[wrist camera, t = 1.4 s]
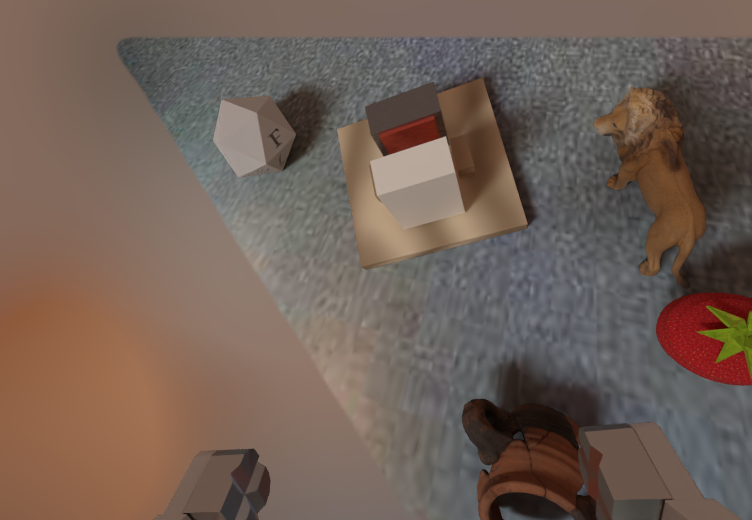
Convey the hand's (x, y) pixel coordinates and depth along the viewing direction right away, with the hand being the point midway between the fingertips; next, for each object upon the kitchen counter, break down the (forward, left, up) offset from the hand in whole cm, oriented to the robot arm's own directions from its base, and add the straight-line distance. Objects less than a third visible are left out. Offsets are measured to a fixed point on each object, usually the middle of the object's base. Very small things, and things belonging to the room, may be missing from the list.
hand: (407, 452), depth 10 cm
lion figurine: (-17, -12, -27) cm, 34 cm away
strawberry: (-17, 0, -27) cm, 32 cm away
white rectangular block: (0, -16, -25) cm, 30 cm away
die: (+17, -29, -27) cm, 43 cm away
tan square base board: (0, -20, -27) cm, 33 cm away
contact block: (0, -23, -25) cm, 34 cm away
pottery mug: (-2, +7, -27) cm, 28 cm away
